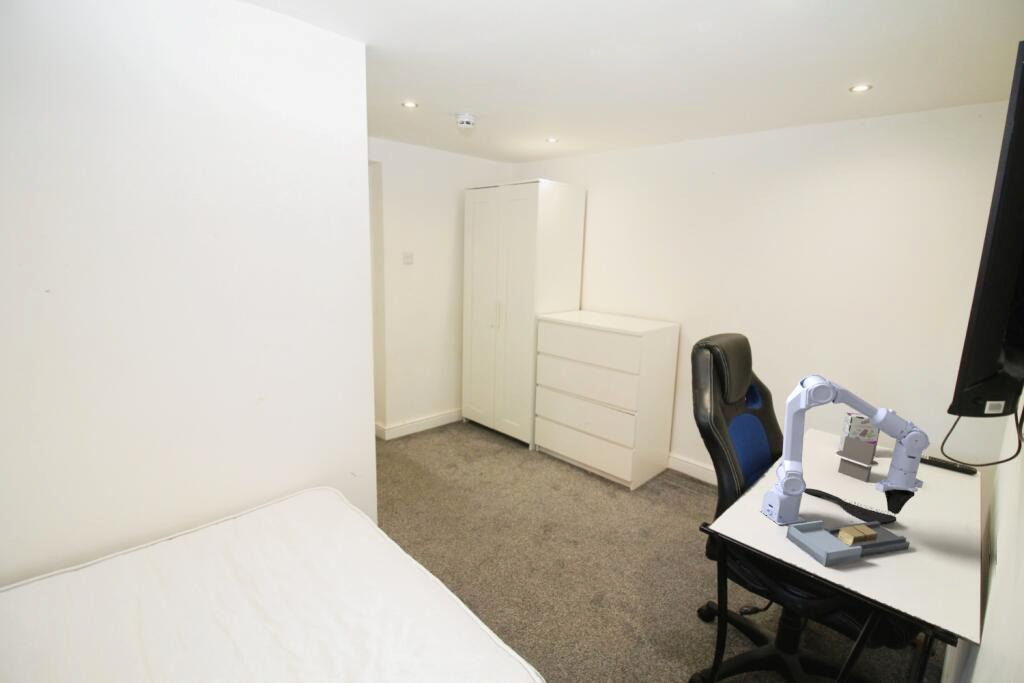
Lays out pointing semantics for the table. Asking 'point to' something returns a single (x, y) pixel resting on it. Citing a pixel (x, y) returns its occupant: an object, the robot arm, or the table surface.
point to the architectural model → (857, 458)
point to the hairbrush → (856, 509)
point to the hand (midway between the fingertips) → (892, 511)
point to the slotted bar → (879, 546)
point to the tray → (822, 544)
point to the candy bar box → (858, 429)
